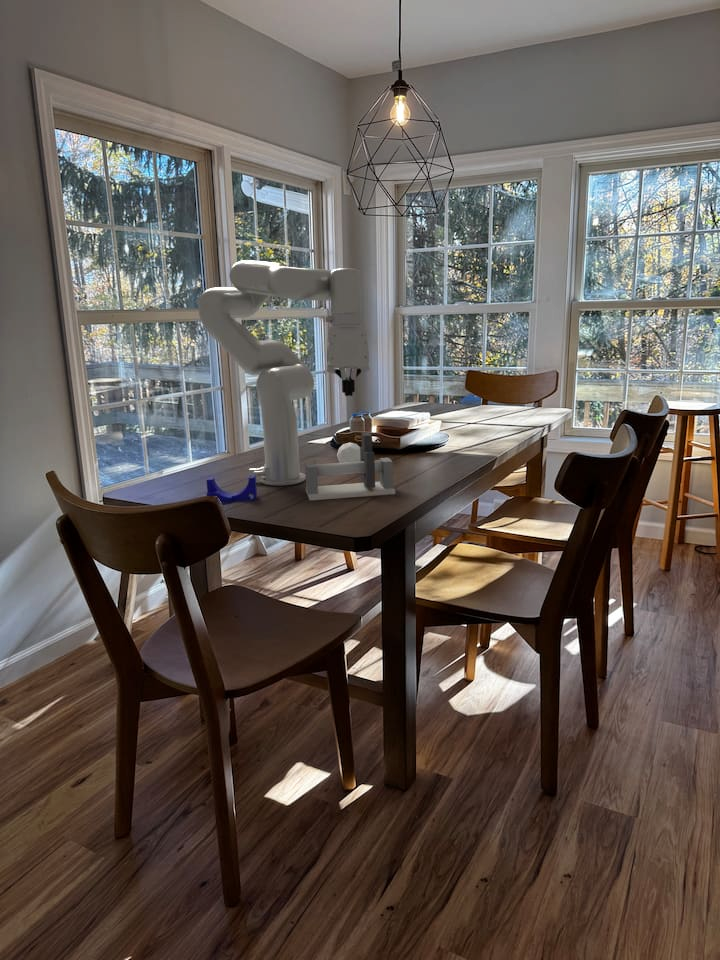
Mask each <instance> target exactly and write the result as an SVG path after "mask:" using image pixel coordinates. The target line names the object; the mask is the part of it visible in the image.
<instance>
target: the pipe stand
mask: <svg viewBox="0 0 720 960" xmlns="http://www.w3.org/2000/svg"><path fill="white" fill-rule="evenodd" d="M374 460H375V473H378V472H379V481H375V487H374V488H367V487H366V485H365V484H364V483H363V482H356V483H354V482H353V483H344V484H343V483H342V484H332V485H331V484H327V485H318V477H321V476H336V475H337V476H338V475H349V474H350V475H352V474H361V473H365V461H359V462H344V463H339V462H333V463H332V462H331V463H317V464H316V463H315V462H305V463H304V467H305V468H304V469H305V476H306V479H305V483H306V485H305V486H306V487H305V492H306V494H307V497H308V500H309V501H319V500H333V499H346V498H360V497H372V496H375V497H376V496H386V495H387V496H388V495H396V489H395V488H394V473H393V472H394V471H393V468H394V467H393V466H394V465H393V462H394V461H393V460H391V458H390V457H380V458H379V459H378V460H376V459H374Z"/></svg>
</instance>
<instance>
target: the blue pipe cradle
mask: <svg viewBox="0 0 720 960" xmlns="http://www.w3.org/2000/svg"><path fill="white" fill-rule="evenodd" d="M247 481H248V482H247V484H246V486H245V487H244V488H243V489H242V490H240V491H237V492H227V491H225V490H223V489H221V488H220V487H219V485H218V484H217V483H216V480H215V476H208V477H207V478H206V490H207V491H206V497H207V496H217V497H218V498H219V499H220V501H221V502H222V503H221V504H231V502H232V503H233V502H239V501H240V502H241V501H243V502H244V501H257V498H258V491H257V490H258V489H257V476H256V475H250V474H249V476H248V480H247ZM251 495H252V496H251ZM223 502H224V503H223ZM226 502H227V503H226Z"/></svg>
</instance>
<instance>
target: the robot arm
mask: <svg viewBox="0 0 720 960" xmlns="http://www.w3.org/2000/svg"><path fill="white" fill-rule="evenodd" d="M228 275H229V280H230V283H231V285H232V286H233V287H232V286H230V287H229V286H219V287H218V286H217V287H211V288H208V289H206V290H205V291H203V292H202V293H201V294H200V296H199V298H198V303H197V307H198V315H199V318H200V321H201V323H202V326H203V328H204V329H205V330H206V331H207V333H208V334H209V335H210V336H211V337H212V338H213V339H214V340H215V341H216V342H217V343H218V344H219V345H220V346H222V348H223V349H224V350H225V351H226V353H228V355H229V356H230V357H231V358H232V359H233V360H234V361H235V362H236V364H237V365H238V366H239V367H240V368H241V369H242V370H243V371H244V372H245V373H246V374H247V375H250V376H255V377H256V376H258V377H257V378H256V382H255V383H256V386H255V387H256V393H257V396H258V400H259V404H260V410H261V418H262V419H261V420H262V432H263V433H262V434H263V436H262V437H263V448H264V450H263V451H264V464H263V466H260V467H256V468H254V467H253V468H249V469H248V470H249V476H250V475H256V477H259V476H261V477H260V482H261V483H262V484H264V485H267V486H276V487H277V486H291V485H296V484H297V485H298V484H300V483H303V482H306V473H305V474H304V473H303V472H301V471H300V470H301V469H300V467H301V466H300V453H299V452H300V451H299V450H300V449H299V432H298V417H297V413H296V411H295V408H294V407H293V404H292V402H291V401H296V400H301V399H305V398H307V397H309V396H310V395H311V394H312V392H314V391H313V390H314V388H315V378H314V375H313V373H312V372H311V371H310V369H309V368H308V366H307V365H306V364H305V363H304V362H303V361H302V360H301V358H300V357H299V356H298V355H297V354H296V353H295V352H294V351H293V350H292V349H291V348H290V347H289V346H288V345H287V344H285V343H284V342H282V341H279V340H274V339H269V340H268V339H266V340H262V339H258V337H256V336H255V335H254V334H253V333H252V332H251V331H249V329H248V327H246V326H245V325H243V324H242V323H241V322H239V321H237V320H235V319H244V318H245V319H246V318H249V317H251V316H253V315H255V314H256V313H257V312H258V311H259V310H260V308H261V307H262V306H263V305H264V304H265V303H266V302H267V301H268V300H269V299H270V297H275V298H283V299H289V300H297V301H307V302H309V301H323V302H326V301H327V302H328V301H330V315H329V316H325V318H324V321H325V323H330V325H331V326H329V327H328V331H327V341H326V363H327V365H326V372H327V373H330V374H335V375H337V377H339V378H340V379H341V392H342V393H343V394H344V396H346V397H349V396H350V397H353V396H354V395H353V393H355V391H356V387H355V385H356V384H355V381H356V379H357V377H358V376H359V375H360V374H361V373H365V372H368V371H369V370H370V365H369V362H370V354H369V342H368V341H369V340H368V336H367V335H368V334H367V329H366V326H363V323H362V321H363V320H362V319H363V317H362V316H363V315H362V314H363V313H362V311H363V310H362V278H361V276H362V275H361V272H360V270H359V269H357V268H352V267H342V268H341V267H340V268H339V267H338V268H333V269H323V268H322V269H321V268H305V267H304V268H303V267H291V266H285V264H283V263H280V262H271V261H270V262H269V261H266V260H250V259H244V260H239V261H237V262H235V263H234V264H233V265H232V266H231V267H230V270H229V274H228ZM347 368H348V369H350V370H349V376H348V377H347V372H346V369H347Z"/></svg>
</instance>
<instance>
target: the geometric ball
mask: <svg viewBox="0 0 720 960" xmlns="http://www.w3.org/2000/svg"><path fill="white" fill-rule="evenodd" d="M360 447H361V446H360V445H358V444H357V443H354V442H347V443H343V444H342V445H341V446H340V447H339V448H338V450H337V454H336V457H337V460H338V463H344V462H359V461H361V460H360Z"/></svg>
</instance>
